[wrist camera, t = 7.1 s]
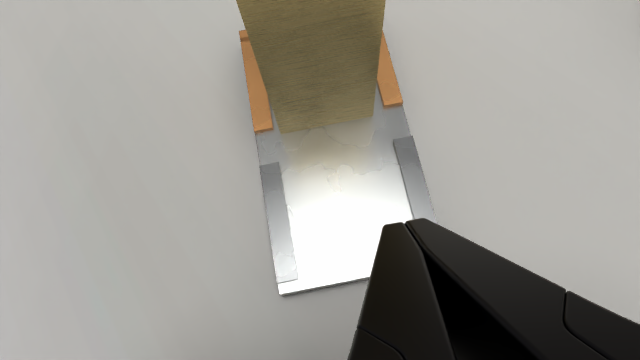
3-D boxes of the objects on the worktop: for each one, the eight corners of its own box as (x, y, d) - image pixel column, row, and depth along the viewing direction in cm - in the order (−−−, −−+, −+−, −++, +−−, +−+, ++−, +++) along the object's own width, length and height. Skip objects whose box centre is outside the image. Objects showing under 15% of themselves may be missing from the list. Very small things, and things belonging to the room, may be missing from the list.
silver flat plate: (442, 264, 22) (448, 260, 21) (282, 296, 22) (278, 293, 21) (374, 19, 27) (375, 4, 26) (244, 44, 27) (239, 31, 26)
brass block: (372, 116, 24) (394, -85, 13) (280, 134, 24) (219, -51, 13) (349, 25, 26) (350, -218, 15) (264, 41, 26) (199, -189, 15)
